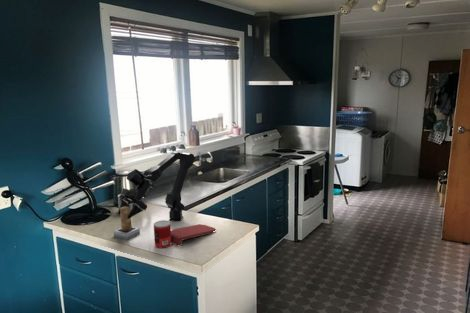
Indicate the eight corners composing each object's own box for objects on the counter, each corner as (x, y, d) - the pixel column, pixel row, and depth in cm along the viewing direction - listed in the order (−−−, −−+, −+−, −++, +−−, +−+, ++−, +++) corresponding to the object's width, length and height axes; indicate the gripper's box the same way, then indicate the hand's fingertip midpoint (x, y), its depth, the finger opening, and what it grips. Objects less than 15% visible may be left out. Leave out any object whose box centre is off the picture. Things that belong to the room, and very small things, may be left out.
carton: (200, 232, 201) (164, 240, 181) (201, 223, 201) (165, 230, 181) (216, 238, 193) (181, 247, 174) (217, 228, 193) (182, 236, 174)
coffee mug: (126, 214, 219) (125, 198, 218) (115, 211, 225) (114, 195, 223) (143, 208, 230) (142, 193, 228) (132, 205, 236) (131, 190, 234)
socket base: (127, 230, 195) (126, 225, 194) (139, 233, 190) (139, 228, 190) (114, 236, 187) (113, 230, 186) (126, 239, 182) (126, 234, 182)
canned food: (174, 242, 179) (173, 221, 177) (166, 249, 171) (165, 227, 169) (160, 240, 181) (159, 219, 179) (151, 247, 174) (150, 225, 172)
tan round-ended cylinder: (132, 230, 191) (131, 206, 188) (130, 233, 186) (129, 209, 183) (122, 230, 190) (121, 206, 188) (120, 234, 186) (119, 209, 183)
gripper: (121, 179, 193) (102, 204, 187) (140, 185, 180) (121, 212, 174) (135, 190, 200) (118, 214, 194) (155, 197, 187) (137, 223, 181)
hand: (123, 216), depth 186 cm, fingers open, 9 cm apart
